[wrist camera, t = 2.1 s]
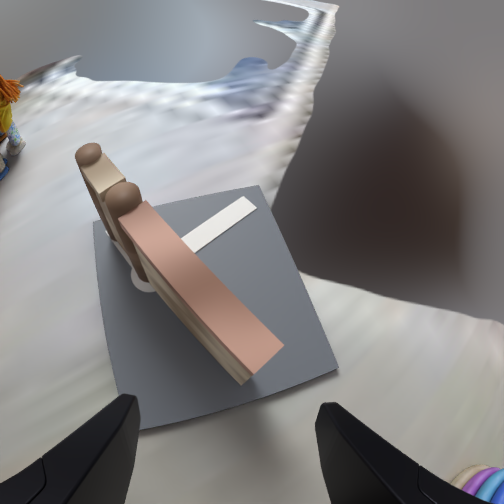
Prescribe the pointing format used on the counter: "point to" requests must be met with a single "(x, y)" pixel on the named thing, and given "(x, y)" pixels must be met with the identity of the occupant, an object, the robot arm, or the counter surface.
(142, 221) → the fence gate
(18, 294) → the counter surface
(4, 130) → the doll family
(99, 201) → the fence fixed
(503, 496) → the stacking toy
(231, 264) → the board
